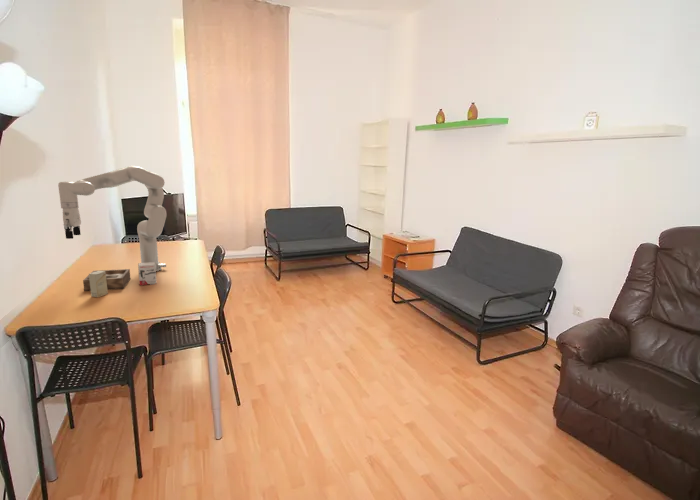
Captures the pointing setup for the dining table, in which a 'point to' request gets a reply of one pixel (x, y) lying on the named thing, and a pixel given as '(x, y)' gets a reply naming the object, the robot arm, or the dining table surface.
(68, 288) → the dining table surface
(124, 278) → the bore box
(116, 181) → the robot arm
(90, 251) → the dining table surface
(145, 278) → the ink box
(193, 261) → the dining table surface
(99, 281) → the skincare box
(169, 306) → the dining table surface
